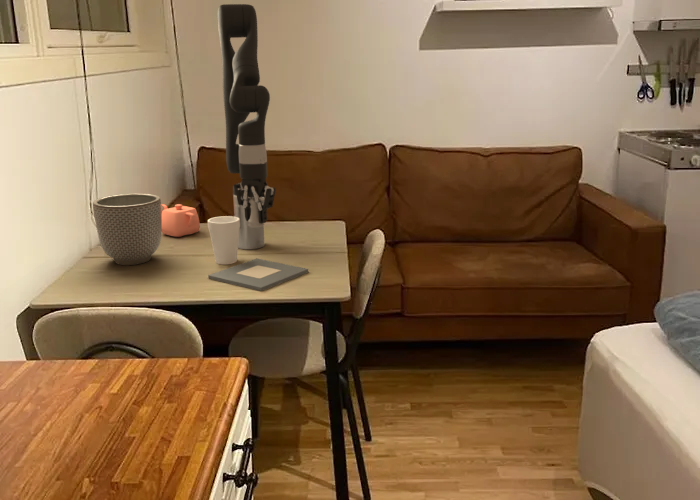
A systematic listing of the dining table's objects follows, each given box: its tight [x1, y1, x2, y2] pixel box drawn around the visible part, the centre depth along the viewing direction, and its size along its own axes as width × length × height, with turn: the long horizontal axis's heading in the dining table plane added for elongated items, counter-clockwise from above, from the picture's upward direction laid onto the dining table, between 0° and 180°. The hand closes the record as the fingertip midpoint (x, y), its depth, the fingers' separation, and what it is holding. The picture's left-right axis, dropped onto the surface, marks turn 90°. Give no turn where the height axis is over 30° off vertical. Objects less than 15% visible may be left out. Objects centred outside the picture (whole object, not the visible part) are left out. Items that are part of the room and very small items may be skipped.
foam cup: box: [207, 215, 240, 265], centre depth 220 cm, size 10×9×13 cm
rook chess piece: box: [248, 198, 265, 228], centre depth 203 cm, size 4×4×8 cm
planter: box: [92, 193, 162, 266], centre depth 222 cm, size 20×20×19 cm
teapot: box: [161, 203, 201, 238], centre depth 255 cm, size 12×18×10 cm, turn 50°
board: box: [207, 257, 309, 292], centre depth 207 cm, size 20×20×1 cm
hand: (256, 221), depth 203 cm, fingers closed on rook chess piece, 4 cm apart
